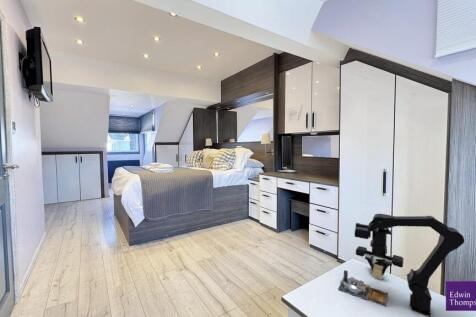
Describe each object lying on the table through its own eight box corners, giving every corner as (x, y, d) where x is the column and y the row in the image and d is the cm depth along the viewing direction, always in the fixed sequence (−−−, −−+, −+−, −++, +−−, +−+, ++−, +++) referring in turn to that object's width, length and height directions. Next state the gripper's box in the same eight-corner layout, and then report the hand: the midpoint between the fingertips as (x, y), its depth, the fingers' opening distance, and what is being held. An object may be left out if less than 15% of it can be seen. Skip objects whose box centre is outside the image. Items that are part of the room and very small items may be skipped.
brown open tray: (387, 296, 107) (387, 292, 107) (386, 306, 99) (386, 303, 99) (369, 290, 111) (369, 286, 111) (367, 299, 104) (367, 296, 104)
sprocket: (344, 276, 121) (344, 265, 120) (370, 285, 113) (370, 273, 113) (337, 287, 111) (337, 274, 111) (365, 298, 104) (365, 284, 103)
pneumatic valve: (374, 269, 130) (375, 249, 130) (386, 281, 119) (387, 259, 118) (364, 268, 131) (365, 248, 130) (375, 280, 119) (375, 258, 119)
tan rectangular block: (383, 274, 107) (383, 266, 107) (381, 279, 103) (381, 270, 103) (374, 272, 109) (374, 264, 109) (372, 276, 106) (373, 268, 105)
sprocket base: (369, 287, 113) (369, 285, 113) (365, 299, 104) (365, 298, 104) (343, 278, 121) (343, 277, 121) (338, 289, 111) (338, 288, 111)
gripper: (404, 241, 106) (403, 273, 107) (360, 231, 118) (359, 260, 118) (403, 249, 97) (401, 284, 98) (355, 238, 109) (354, 269, 110)
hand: (378, 273), depth 106 cm, fingers closed on tan rectangular block, 3 cm apart
